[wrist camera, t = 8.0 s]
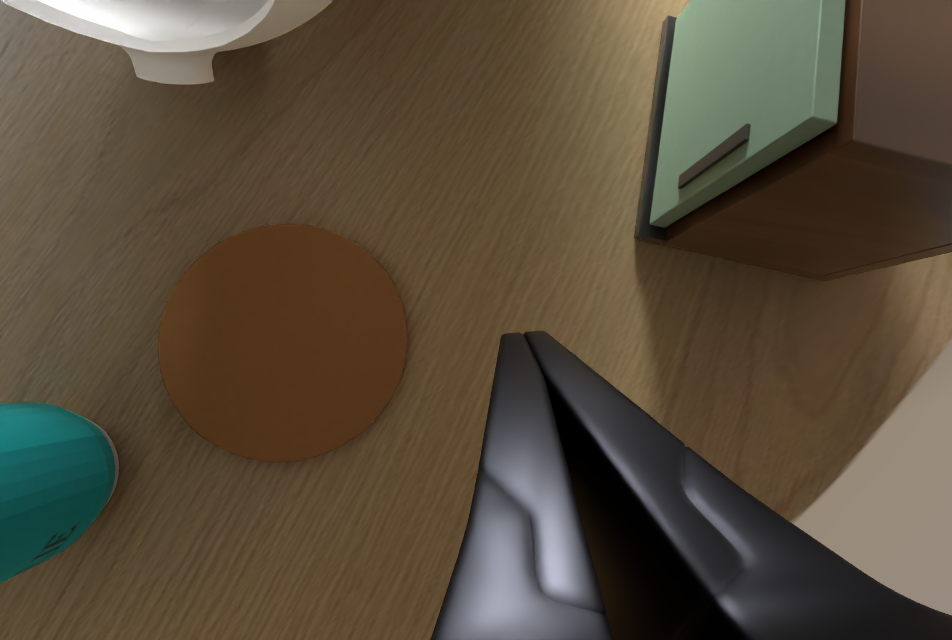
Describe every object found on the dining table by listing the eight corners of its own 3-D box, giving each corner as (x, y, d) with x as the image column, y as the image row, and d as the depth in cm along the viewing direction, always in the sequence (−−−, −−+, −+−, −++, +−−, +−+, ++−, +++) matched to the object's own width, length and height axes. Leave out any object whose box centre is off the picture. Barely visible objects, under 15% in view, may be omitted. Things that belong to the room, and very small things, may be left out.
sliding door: (664, 228, 21) (838, 124, 13) (645, 223, 21) (806, 116, 12) (690, 23, 23) (860, -198, 14) (672, 19, 23) (832, -208, 14)
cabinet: (826, 281, 23) (1130, 211, 13) (633, 238, 22) (807, 128, 12) (840, 70, 25) (1120, -132, 15) (662, 22, 24) (835, -230, 14)
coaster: (453, 361, 20) (453, 361, 20) (259, 510, 18) (253, 515, 18) (319, 185, 20) (316, 179, 20) (115, 316, 19) (105, 315, 18)
